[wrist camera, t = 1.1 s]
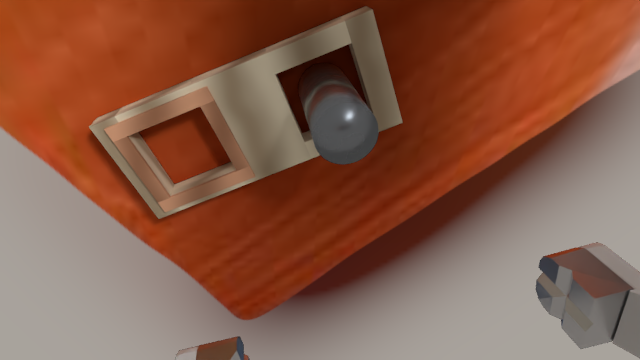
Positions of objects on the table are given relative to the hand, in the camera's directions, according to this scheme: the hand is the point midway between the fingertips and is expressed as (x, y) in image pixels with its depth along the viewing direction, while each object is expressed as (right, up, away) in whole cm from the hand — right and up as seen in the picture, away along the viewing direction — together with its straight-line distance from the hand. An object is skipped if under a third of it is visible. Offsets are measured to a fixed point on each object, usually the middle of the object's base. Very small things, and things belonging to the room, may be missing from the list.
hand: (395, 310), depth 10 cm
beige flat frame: (-8, +9, +24) cm, 27 cm away
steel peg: (-2, +11, +24) cm, 27 cm away
